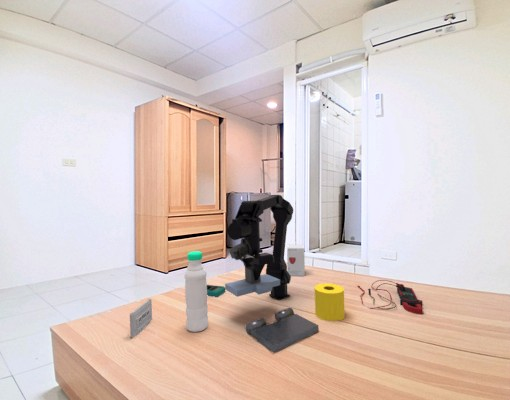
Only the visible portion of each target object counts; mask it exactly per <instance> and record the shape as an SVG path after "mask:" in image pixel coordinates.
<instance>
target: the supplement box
mask: <svg viewBox="0 0 510 400" xmlns="http://www.w3.org/2000/svg"><path fill="white" fill-rule="evenodd" d="M286 249H287V251H286V252H287V253H286V254H287V257H286V260H287V263H286V265H287V271H288V273H289V274H290V276H291V277H305V276H306V275H305V273H306V272H305V264H306V263H305V245H304V244H287V248H286Z"/></svg>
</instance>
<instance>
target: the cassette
mask: <svg viewBox="0 0 510 400" xmlns="http://www.w3.org/2000/svg"><path fill="white" fill-rule="evenodd" d="M152 303H153V302H152V298H148V299H147V300H146V301H145V302H143V303H142V304H141V305H139V306H138V307H137V308H136V309H134V310H133V311H132V312H130V313H129V327H130V328H129V330H130V331H129V332H130V333H129V335H130V338H131V339H134V338H135V337H136V336H138V335H139V334H140V333H141V332H142V331H143V330H144V329H145V328H146V327H148V325H150V324H151V322H152V321H153V309H152V308H153V307H152V305H153V304H152ZM151 320H152V321H151ZM150 321H151V322H150ZM149 323H150V324H149Z"/></svg>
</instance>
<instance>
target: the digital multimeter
mask: <svg viewBox="0 0 510 400" xmlns="http://www.w3.org/2000/svg"><path fill="white" fill-rule="evenodd" d="M225 292H226V289H225V286H222V285H210V284H207V295H208V296H209V297H213V296H215V298H218V297H220V296H222V295H223V294H224V293H225ZM208 296H207V297H208Z"/></svg>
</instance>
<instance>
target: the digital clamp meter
mask: <svg viewBox="0 0 510 400" xmlns="http://www.w3.org/2000/svg"><path fill="white" fill-rule="evenodd" d="M383 281H385V282H387V283H385V282H384V283H381V284H380V285H378V286H377V287H376V288H374V287H373V285H374V284H375V283H377V282H383ZM388 282H390V283H388ZM392 283H393V284H392ZM382 285H390V286H393V287H396V293H397V295H398V297H399V299H400V300H399V302H400V306H402V308H403V309H404V310H405V311H407V312H409V313H410V314H415V315H423V300H421V299H418V297H417V295H416V293H415V291H414V289H413V288H412V287H407V286H405V285H404V284H403V283H398V282H394V281H391V280H387V279H379V280H376V281H374V282H373V283H372V284H371V288H370V287H369V288H368V289H367V290H368V295H369V296H370V297H371V298H373V299H375V297H374V296H372V294H371V291H372V289H373V290H375V291H378V290H379V291H385V292H387V293H388V294H389V297H390V299H388V298H386V297H384V296H382V295H380V294H379V293H377V295H378V296H380V297H381V298H382V299H385V300H387V301H389V302H390V303H389V304H386V305H383V306H382V305H381V306H377V307H369V306H368V307H367V306H366V308H367V309H370V310H372V309H374V310H375V309H379V310H391V309H395V308H396V307H397V304H396V302H394V301H393V300H392V295H391V293H390V292H389V291H388V290H387V289H382V288H381V289H380V288H379V287H381V286H382ZM357 288H358V289H359V290H361V291H362V292H363V293H361V294H360V295H359V297H360V300H361V304H362V305H364V301H363V298H362V295H364V294H365V290H364V289H363V288H362V287H361V285H357ZM372 303H373V304H375V300H373V302H372ZM392 303H393V304H394V305H395V306H394V307H393V306H392V307H388V306H390V305H391V304H392ZM384 307H386V308H384ZM387 307H388V308H387Z"/></svg>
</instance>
